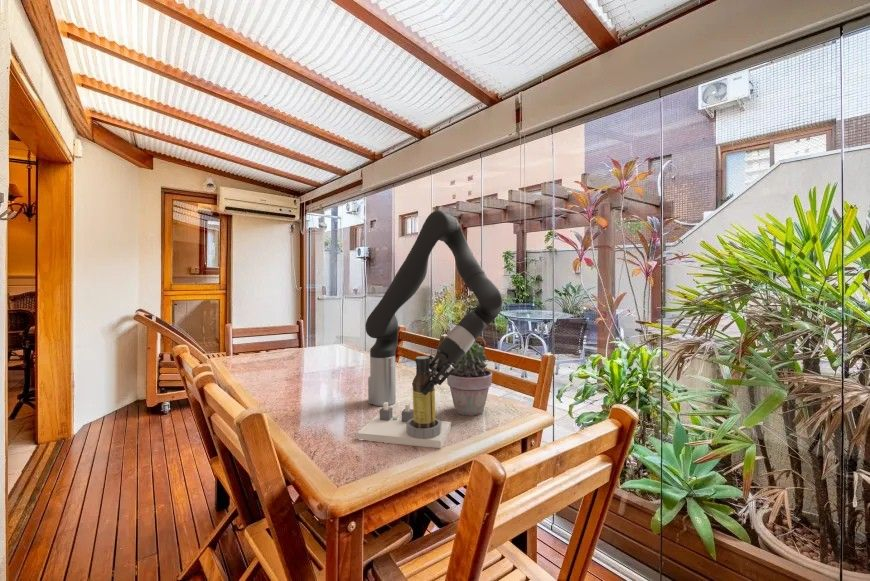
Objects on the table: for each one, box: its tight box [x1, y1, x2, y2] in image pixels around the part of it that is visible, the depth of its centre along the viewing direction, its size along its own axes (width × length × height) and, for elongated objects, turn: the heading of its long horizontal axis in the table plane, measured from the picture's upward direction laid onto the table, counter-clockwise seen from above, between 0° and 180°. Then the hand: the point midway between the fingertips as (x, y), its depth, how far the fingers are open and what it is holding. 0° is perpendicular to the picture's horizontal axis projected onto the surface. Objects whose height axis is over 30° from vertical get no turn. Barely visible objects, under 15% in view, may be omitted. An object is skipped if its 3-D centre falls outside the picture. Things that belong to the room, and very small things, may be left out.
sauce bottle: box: [412, 355, 437, 429], centre depth 107 cm, size 6×6×20 cm
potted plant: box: [446, 335, 493, 416], centre depth 129 cm, size 18×20×25 cm
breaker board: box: [356, 402, 452, 449], centre depth 110 cm, size 24×14×7 cm, turn 77°
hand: (418, 389), depth 106 cm, fingers closed on sauce bottle, 6 cm apart
